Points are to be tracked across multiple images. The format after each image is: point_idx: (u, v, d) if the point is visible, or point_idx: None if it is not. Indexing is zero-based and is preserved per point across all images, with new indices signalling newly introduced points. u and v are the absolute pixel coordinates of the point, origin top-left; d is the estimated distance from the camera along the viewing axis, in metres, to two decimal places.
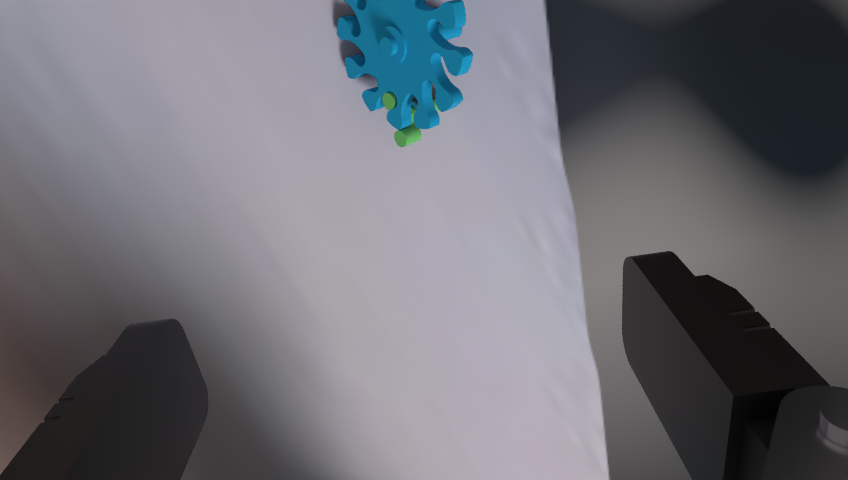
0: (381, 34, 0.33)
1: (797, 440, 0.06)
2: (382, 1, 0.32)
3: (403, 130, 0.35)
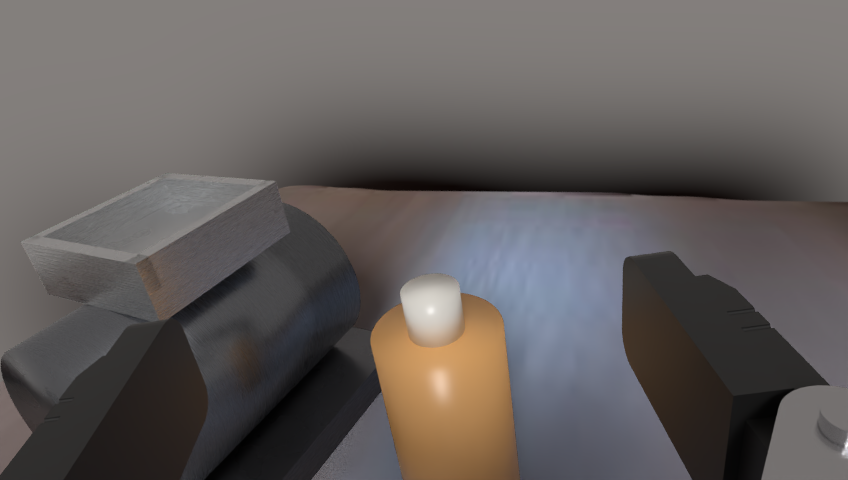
0: None
1: (797, 440, 0.06)
2: None
3: None
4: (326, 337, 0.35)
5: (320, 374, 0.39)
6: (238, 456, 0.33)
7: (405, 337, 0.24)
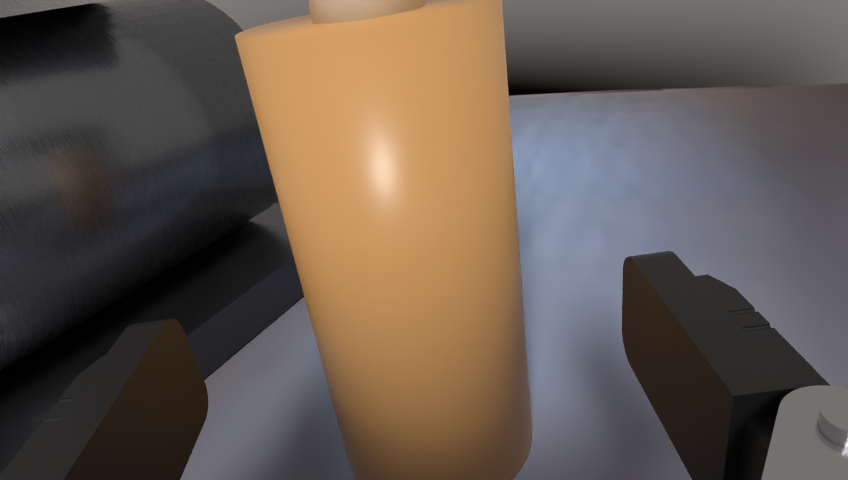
0: None
1: (797, 440, 0.06)
2: None
3: None
4: (232, 178, 0.23)
5: (234, 251, 0.27)
6: (81, 346, 0.21)
7: (306, 23, 0.12)
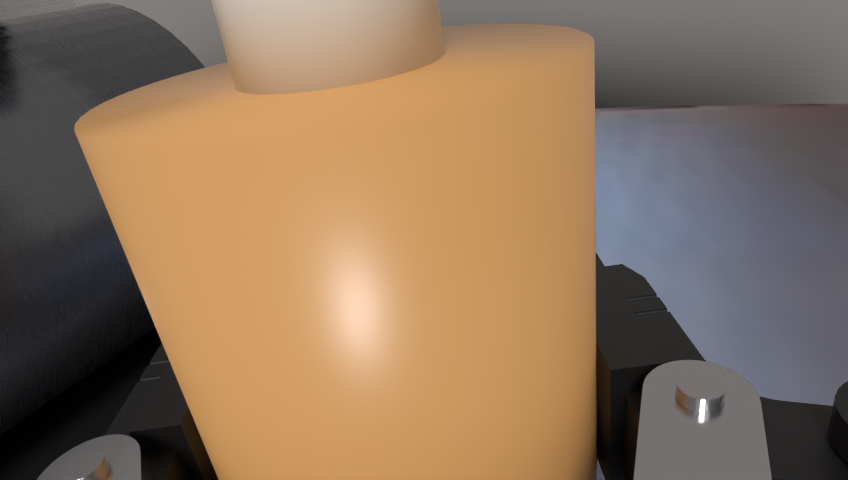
0: None
1: (653, 407, 0.06)
2: None
3: None
4: None
5: None
6: None
7: (222, 88, 0.06)
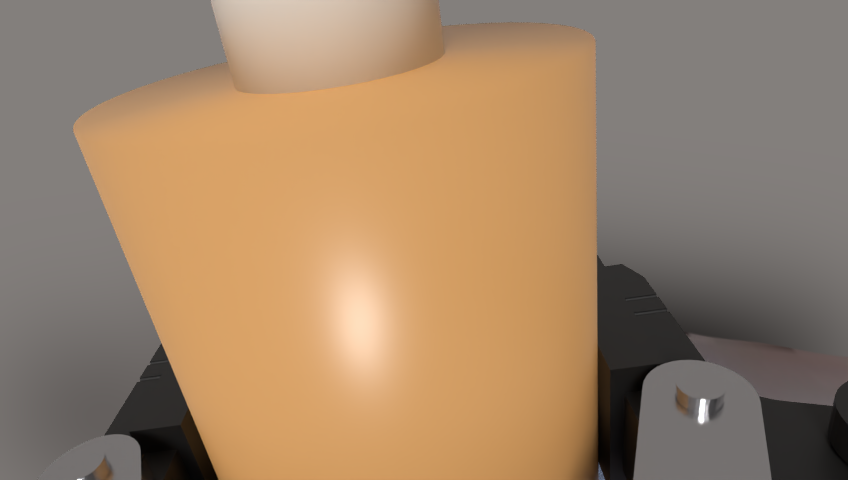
0: None
1: (652, 407, 0.06)
2: None
3: None
4: None
5: None
6: None
7: (223, 88, 0.06)
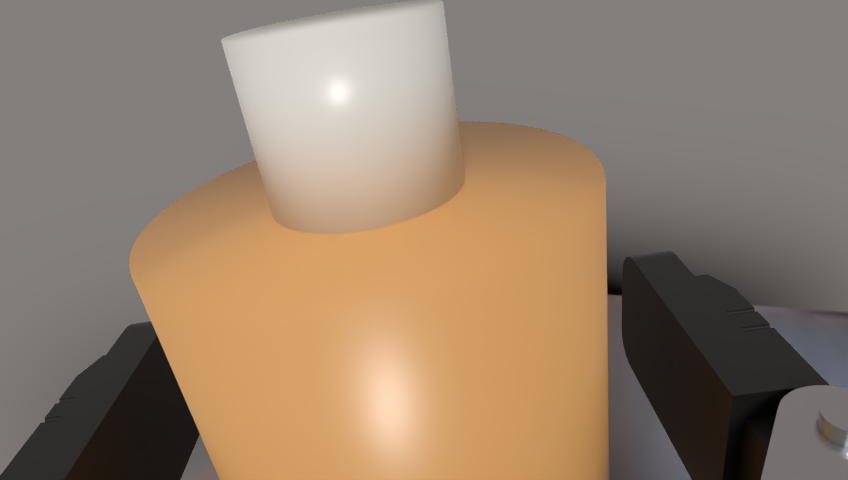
0: None
1: (796, 440, 0.06)
2: None
3: None
4: None
5: None
6: None
7: (260, 213, 0.07)
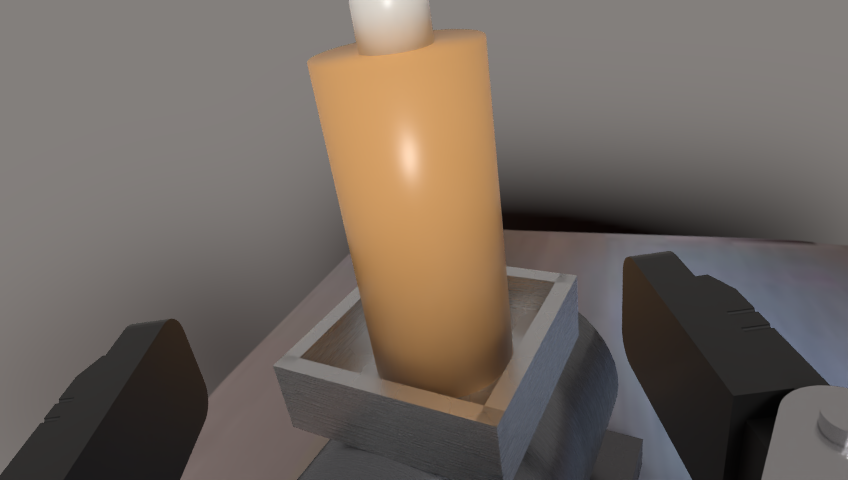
0: None
1: (797, 440, 0.06)
2: None
3: None
4: None
5: None
6: None
7: (354, 55, 0.18)
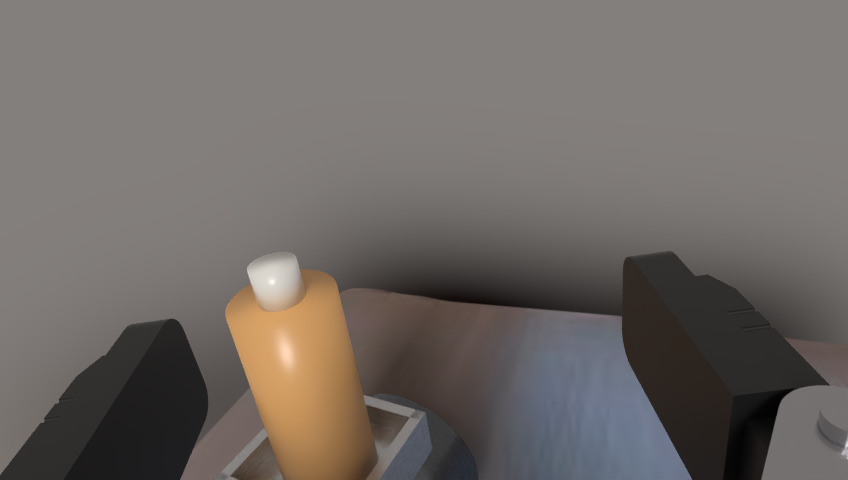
0: None
1: (797, 440, 0.06)
2: None
3: None
4: None
5: None
6: None
7: (255, 304, 0.29)
